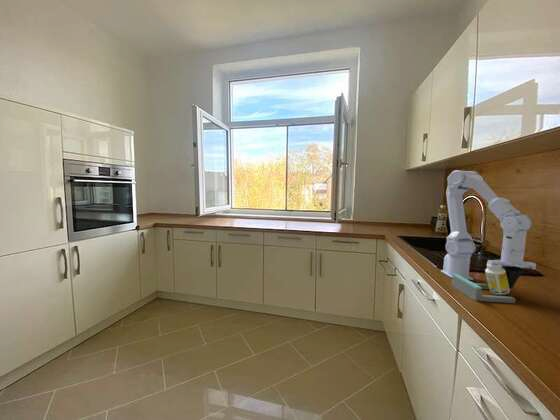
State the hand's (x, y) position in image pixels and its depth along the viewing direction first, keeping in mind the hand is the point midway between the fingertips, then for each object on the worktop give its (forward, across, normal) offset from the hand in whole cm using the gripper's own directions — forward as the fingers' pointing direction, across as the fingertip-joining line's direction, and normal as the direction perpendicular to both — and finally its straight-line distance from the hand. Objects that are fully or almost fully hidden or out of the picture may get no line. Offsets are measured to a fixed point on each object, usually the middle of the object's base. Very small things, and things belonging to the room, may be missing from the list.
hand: (508, 287), depth 89 cm
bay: (+2, -10, -1) cm, 10 cm away
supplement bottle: (+2, -3, 0) cm, 3 cm away
